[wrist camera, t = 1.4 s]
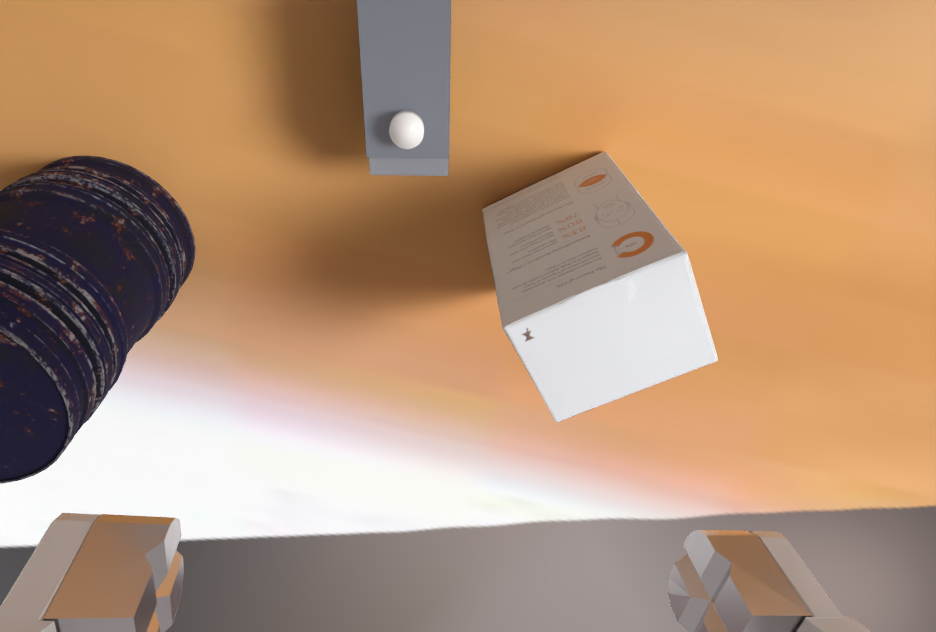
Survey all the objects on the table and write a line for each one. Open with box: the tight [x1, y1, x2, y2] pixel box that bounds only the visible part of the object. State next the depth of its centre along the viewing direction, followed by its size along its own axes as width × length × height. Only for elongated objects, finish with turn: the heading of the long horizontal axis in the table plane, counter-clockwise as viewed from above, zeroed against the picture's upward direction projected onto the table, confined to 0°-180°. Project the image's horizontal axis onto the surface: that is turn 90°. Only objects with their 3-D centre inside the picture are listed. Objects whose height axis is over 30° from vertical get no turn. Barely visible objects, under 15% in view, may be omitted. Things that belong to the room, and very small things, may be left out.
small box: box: [482, 152, 718, 422], centre depth 31 cm, size 8×6×13 cm
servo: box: [357, 0, 451, 176], centre depth 29 cm, size 4×10×6 cm, turn 178°
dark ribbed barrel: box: [0, 156, 195, 483], centre depth 30 cm, size 10×10×15 cm
